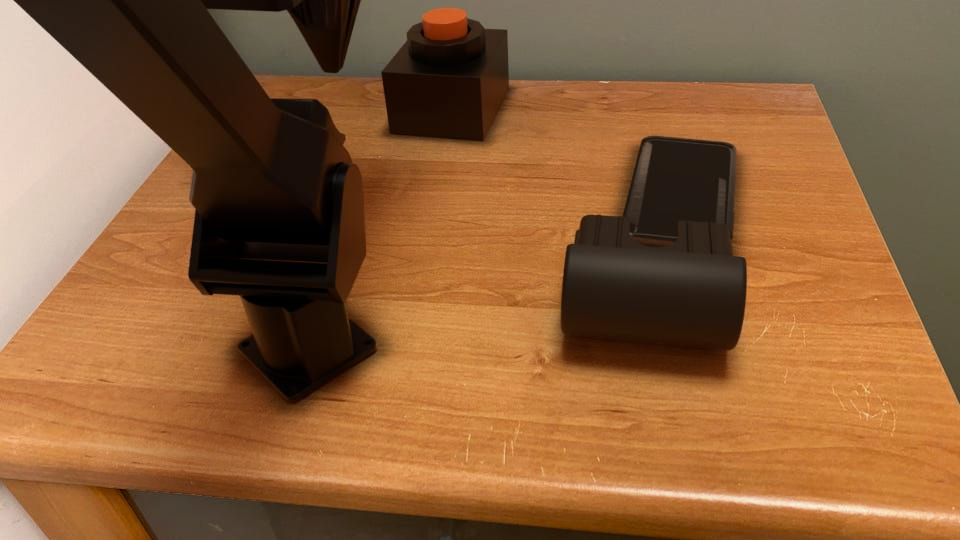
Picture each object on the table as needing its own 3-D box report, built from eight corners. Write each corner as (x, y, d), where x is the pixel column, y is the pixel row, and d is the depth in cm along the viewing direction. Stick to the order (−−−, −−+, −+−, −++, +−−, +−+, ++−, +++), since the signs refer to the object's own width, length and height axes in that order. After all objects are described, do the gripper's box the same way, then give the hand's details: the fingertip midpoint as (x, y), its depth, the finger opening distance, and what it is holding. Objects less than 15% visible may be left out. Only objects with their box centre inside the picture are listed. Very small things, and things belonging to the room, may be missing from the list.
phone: (617, 234, 52) (642, 134, 63) (616, 247, 53) (641, 145, 64) (733, 249, 50) (738, 142, 61) (730, 262, 51) (736, 154, 62)
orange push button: (461, 44, 64) (460, 24, 63) (418, 42, 65) (416, 22, 64) (472, 27, 67) (471, 8, 66) (431, 25, 68) (429, 6, 67)
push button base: (483, 142, 66) (479, 57, 61) (389, 134, 68) (378, 51, 63) (509, 89, 74) (507, 10, 69) (424, 84, 76) (416, 7, 71)
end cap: (558, 362, 44) (560, 276, 40) (570, 287, 50) (573, 204, 45) (730, 380, 42) (751, 292, 38) (722, 300, 48) (741, 215, 43)
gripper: (230, -228, 47) (284, 14, 56) (23, -180, 33) (143, 130, 43) (394, -235, 44) (421, 20, 54) (245, -186, 30) (317, 145, 40)
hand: (333, 70), depth 48 cm, fingers closed
